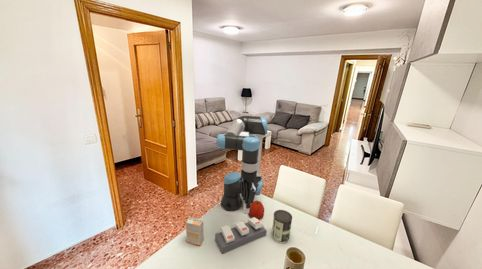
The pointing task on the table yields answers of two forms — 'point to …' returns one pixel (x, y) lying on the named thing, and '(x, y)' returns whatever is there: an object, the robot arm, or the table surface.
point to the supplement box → (195, 231)
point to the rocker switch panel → (239, 238)
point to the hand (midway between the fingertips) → (246, 212)
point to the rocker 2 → (242, 228)
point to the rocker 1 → (227, 234)
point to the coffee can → (281, 226)
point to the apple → (256, 210)
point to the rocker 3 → (255, 223)
